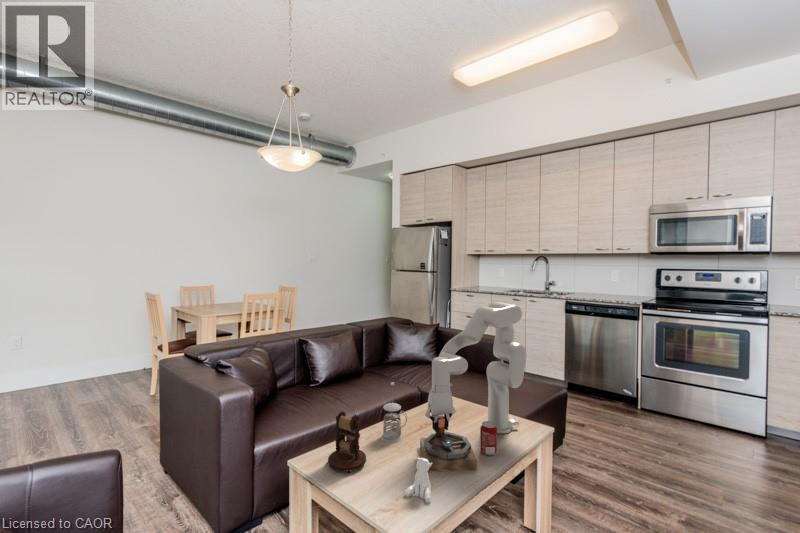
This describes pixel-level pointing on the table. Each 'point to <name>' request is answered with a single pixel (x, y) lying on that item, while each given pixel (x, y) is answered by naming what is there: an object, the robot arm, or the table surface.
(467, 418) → the table surface
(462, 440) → the handwheel
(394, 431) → the french press
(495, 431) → the soda can
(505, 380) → the robot arm
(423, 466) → the sitting furry creature
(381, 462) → the table surface
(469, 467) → the block
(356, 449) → the scroll
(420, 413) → the table surface
